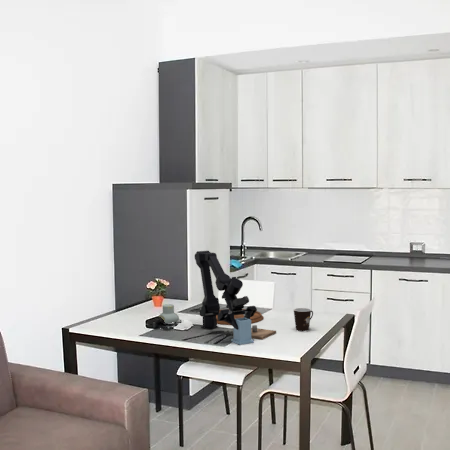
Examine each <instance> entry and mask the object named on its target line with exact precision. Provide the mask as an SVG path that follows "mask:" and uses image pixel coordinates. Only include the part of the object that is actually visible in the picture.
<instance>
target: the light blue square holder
mask: <svg viewBox="0 0 450 450" xmlns="http://www.w3.org/2000/svg"><path fill="white" fill-rule="evenodd" d="M235 321H236V323H237V325H238V328H239V329H238V330H237V329H235V328H234V327H233V333H234V336H233V338H231V340H230V341H231V342H232V343H235V344H237V345H239V346H241V345H248V344H253V343H255V341H254V339H253V338H251V328H252V324H251V320H250V319H247V318H245V317H244V318H237V319H235Z"/></svg>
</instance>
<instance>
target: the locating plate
mask: <svg viewBox="0 0 450 450" xmlns="http://www.w3.org/2000/svg"><path fill="white" fill-rule="evenodd" d="M275 334H277V330H274V329H265V328H258V325H256V324H254V325H253V324H252V325H251V339H253V340H254V339H255V340H261V341H262V340H264V339H266V338H267V339H268V338H269V337H271V336H273V335H275ZM232 336H233V337H234V332H232Z"/></svg>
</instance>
